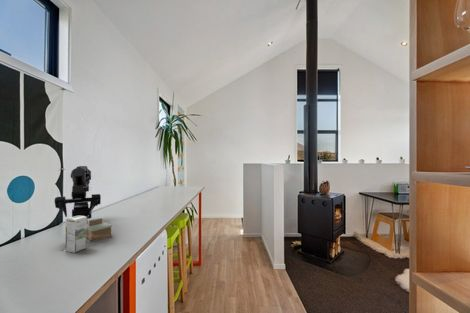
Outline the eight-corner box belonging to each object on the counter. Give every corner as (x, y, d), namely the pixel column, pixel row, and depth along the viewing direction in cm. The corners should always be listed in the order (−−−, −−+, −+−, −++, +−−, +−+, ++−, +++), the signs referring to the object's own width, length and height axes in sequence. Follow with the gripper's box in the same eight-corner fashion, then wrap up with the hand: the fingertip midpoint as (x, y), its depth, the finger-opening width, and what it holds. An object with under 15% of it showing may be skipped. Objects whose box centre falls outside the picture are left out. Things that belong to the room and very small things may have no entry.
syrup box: (77, 246, 108) (77, 215, 108) (87, 248, 107) (87, 216, 107) (65, 251, 103) (65, 218, 103) (75, 253, 101) (74, 219, 101)
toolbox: (82, 236, 122) (82, 227, 122) (100, 232, 130) (100, 223, 130) (92, 241, 115) (92, 231, 115) (111, 236, 122) (111, 227, 122)
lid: (81, 226, 122) (81, 220, 122) (100, 222, 130) (100, 216, 130) (92, 231, 115) (91, 224, 115) (111, 226, 122) (111, 219, 122)
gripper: (54, 180, 112) (51, 208, 102) (100, 178, 121) (100, 203, 112) (57, 194, 119) (54, 221, 109) (100, 191, 128) (100, 216, 119)
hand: (77, 215), depth 112 cm, fingers open, 9 cm apart
